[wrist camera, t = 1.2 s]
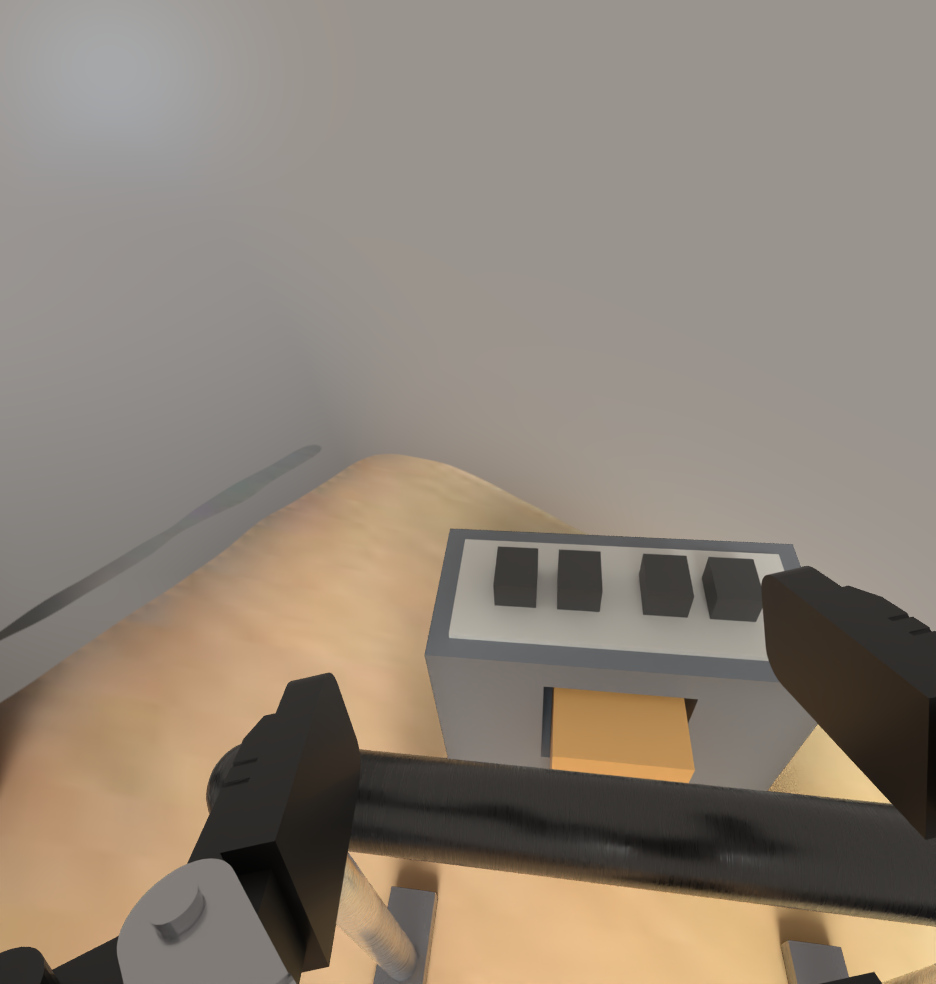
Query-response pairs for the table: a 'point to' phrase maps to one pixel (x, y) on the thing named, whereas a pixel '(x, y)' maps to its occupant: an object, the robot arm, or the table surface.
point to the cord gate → (624, 849)
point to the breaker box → (610, 644)
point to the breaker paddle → (620, 735)
